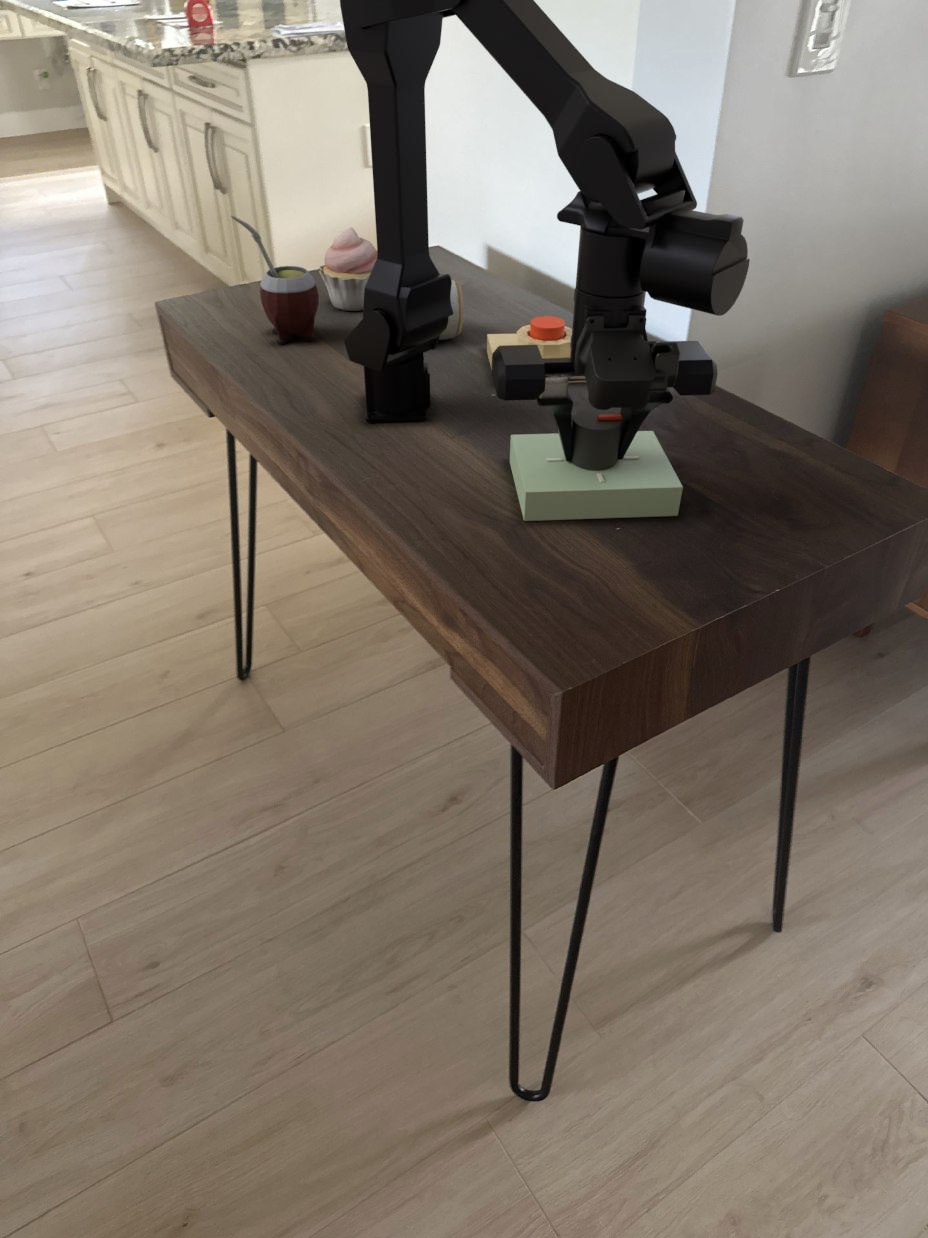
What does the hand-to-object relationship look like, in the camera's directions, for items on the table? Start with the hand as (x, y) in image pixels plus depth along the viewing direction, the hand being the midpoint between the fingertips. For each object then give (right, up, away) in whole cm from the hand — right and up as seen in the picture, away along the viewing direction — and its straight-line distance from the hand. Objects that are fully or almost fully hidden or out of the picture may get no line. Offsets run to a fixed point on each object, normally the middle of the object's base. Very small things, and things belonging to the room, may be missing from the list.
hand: (593, 458), depth 83 cm
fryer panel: (0, -2, +2) cm, 3 cm away
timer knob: (0, 0, 0) cm, 0 cm away
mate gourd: (-34, +21, +31) cm, 51 cm away
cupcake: (-27, +29, +41) cm, 57 cm away
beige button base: (-2, +15, +25) cm, 29 cm away
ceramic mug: (-17, +22, +32) cm, 43 cm away
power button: (-2, +18, +23) cm, 29 cm away
